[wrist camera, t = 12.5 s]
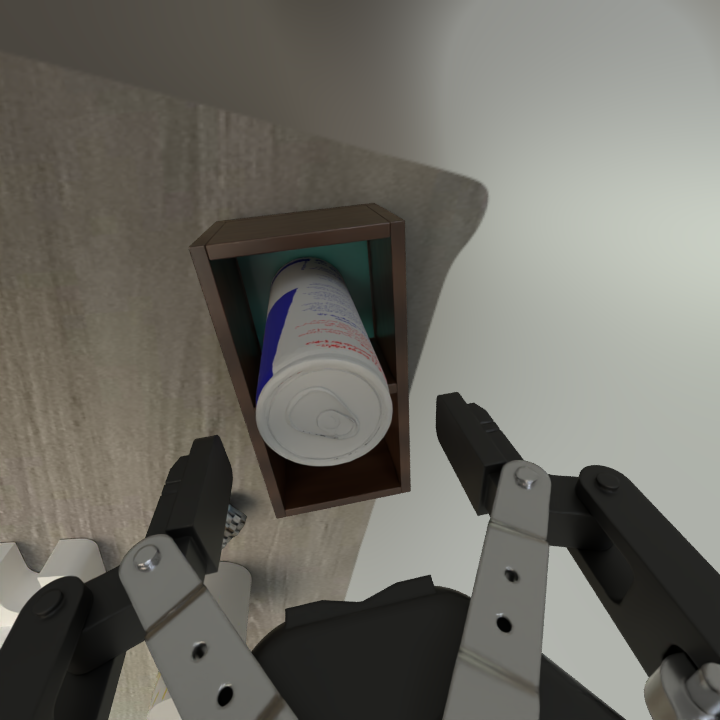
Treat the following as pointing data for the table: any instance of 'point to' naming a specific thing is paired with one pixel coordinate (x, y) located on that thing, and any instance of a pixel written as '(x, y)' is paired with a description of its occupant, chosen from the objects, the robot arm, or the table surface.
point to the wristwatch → (233, 524)
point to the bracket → (41, 574)
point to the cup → (234, 601)
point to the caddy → (375, 308)
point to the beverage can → (318, 370)
